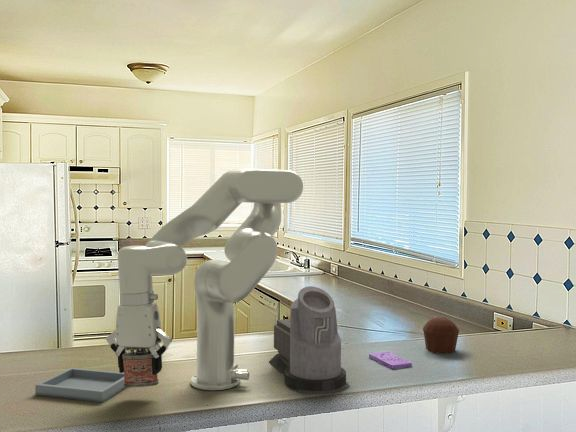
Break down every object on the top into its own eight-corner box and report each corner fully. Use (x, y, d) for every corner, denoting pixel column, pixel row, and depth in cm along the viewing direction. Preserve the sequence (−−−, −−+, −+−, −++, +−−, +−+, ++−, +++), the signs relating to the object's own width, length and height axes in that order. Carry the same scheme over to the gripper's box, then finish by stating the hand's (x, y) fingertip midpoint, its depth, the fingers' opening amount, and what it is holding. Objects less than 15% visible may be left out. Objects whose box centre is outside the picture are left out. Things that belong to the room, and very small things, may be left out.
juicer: (359, 390, 141) (361, 293, 140) (300, 398, 135) (301, 296, 134) (311, 358, 169) (312, 276, 168) (260, 363, 163) (261, 279, 162)
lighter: (159, 380, 136) (157, 340, 135) (157, 386, 132) (154, 344, 132) (125, 382, 135) (123, 341, 135) (122, 388, 132) (119, 346, 131)
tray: (133, 383, 144) (133, 373, 144) (102, 402, 131) (102, 391, 130) (71, 377, 148) (71, 367, 148) (35, 395, 135) (35, 384, 135)
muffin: (424, 343, 187) (424, 313, 186) (459, 346, 183) (459, 316, 183) (420, 353, 175) (421, 321, 175) (458, 356, 172) (458, 324, 171)
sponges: (387, 356, 173) (388, 350, 173) (412, 368, 161) (412, 361, 161) (368, 359, 170) (368, 353, 170) (391, 371, 158) (392, 364, 158)
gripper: (177, 296, 134) (181, 368, 135) (112, 294, 138) (115, 365, 139) (163, 303, 127) (167, 379, 128) (94, 301, 131) (98, 375, 132)
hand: (140, 371), depth 133 cm, fingers closed on lighter, 8 cm apart
